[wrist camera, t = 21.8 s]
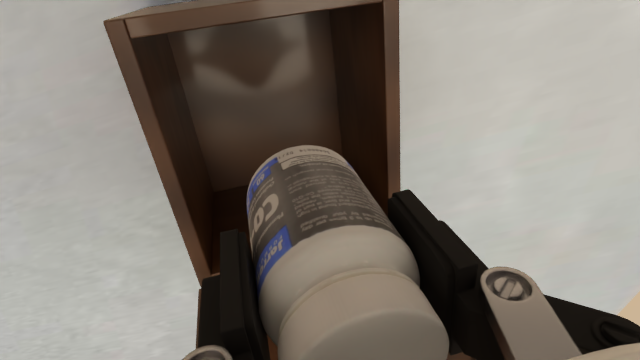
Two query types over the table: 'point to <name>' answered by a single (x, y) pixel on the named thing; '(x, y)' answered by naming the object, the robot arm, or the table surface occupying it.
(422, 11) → the table surface
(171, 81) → the chest
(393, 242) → the pill bottle
